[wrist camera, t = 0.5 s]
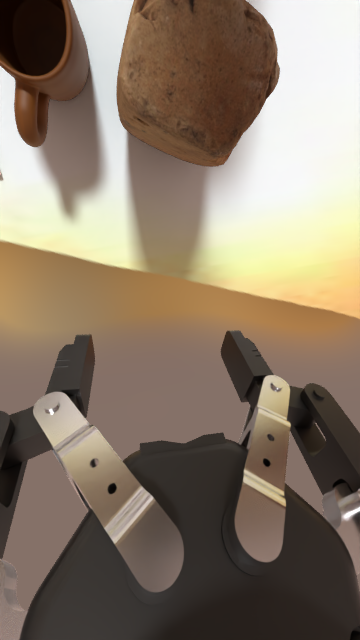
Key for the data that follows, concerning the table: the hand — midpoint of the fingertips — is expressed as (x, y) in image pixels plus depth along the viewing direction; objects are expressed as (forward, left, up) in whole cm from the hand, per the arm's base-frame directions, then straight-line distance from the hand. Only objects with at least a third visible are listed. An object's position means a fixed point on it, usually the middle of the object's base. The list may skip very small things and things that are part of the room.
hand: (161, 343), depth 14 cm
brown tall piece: (-13, +3, -28) cm, 30 cm away
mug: (-14, -10, -28) cm, 32 cm away
